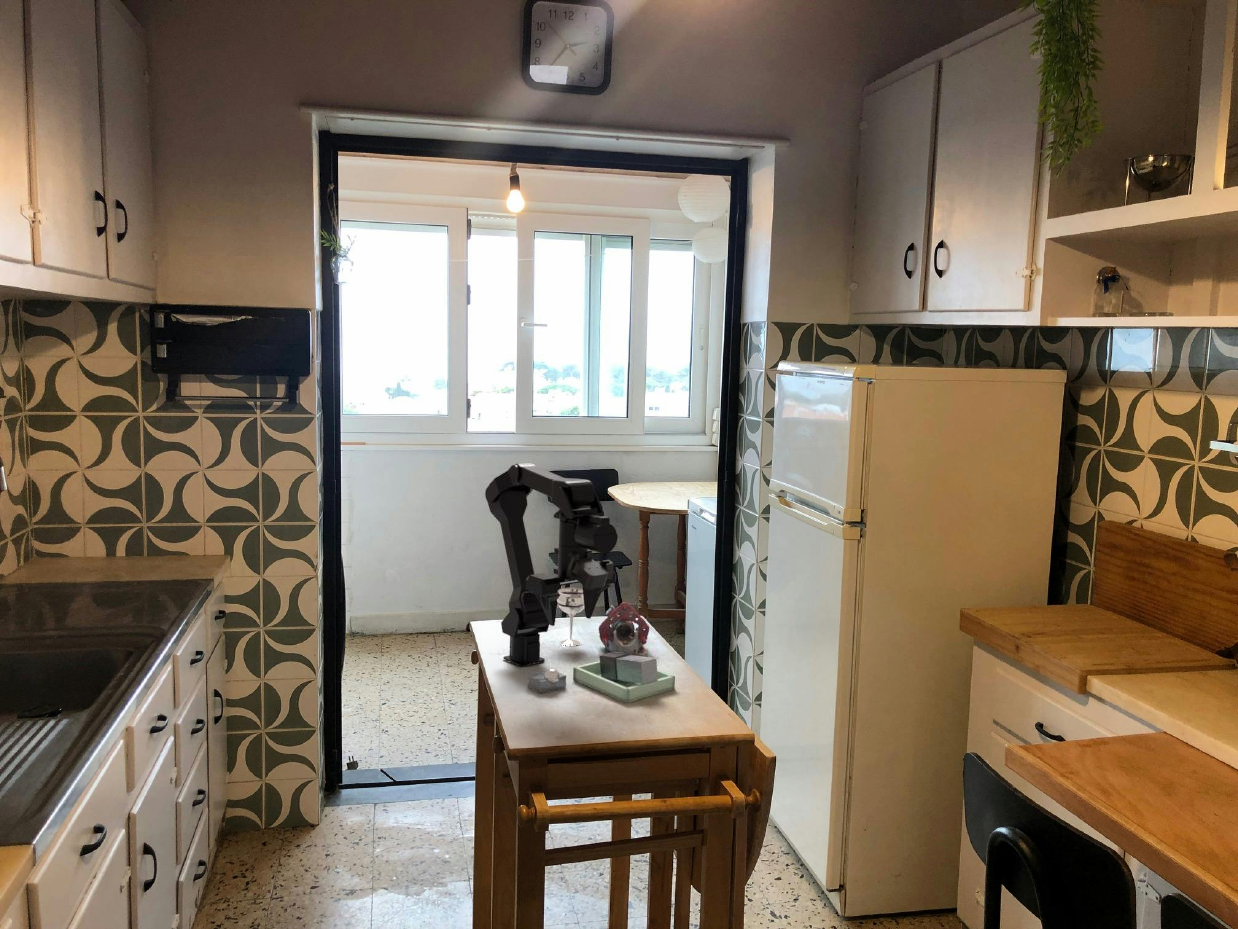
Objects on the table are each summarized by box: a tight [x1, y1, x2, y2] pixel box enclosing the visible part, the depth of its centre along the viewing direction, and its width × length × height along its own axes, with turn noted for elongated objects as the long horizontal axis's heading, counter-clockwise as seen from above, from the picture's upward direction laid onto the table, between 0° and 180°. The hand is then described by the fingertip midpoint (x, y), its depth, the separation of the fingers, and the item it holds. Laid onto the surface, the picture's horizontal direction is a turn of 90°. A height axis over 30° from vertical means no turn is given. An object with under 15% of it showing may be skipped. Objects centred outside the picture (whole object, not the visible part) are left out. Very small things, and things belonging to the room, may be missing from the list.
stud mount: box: [527, 668, 567, 695], centre depth 185 cm, size 5×6×4 cm
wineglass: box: [556, 587, 585, 647], centre depth 214 cm, size 7×7×12 cm
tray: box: [572, 660, 676, 704], centre depth 189 cm, size 16×13×3 cm
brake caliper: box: [598, 601, 650, 656], centre depth 212 cm, size 11×11×12 cm
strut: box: [599, 651, 658, 684], centre depth 188 cm, size 12×4×4 cm, turn 42°
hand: (570, 621), depth 188 cm, fingers open, 9 cm apart
